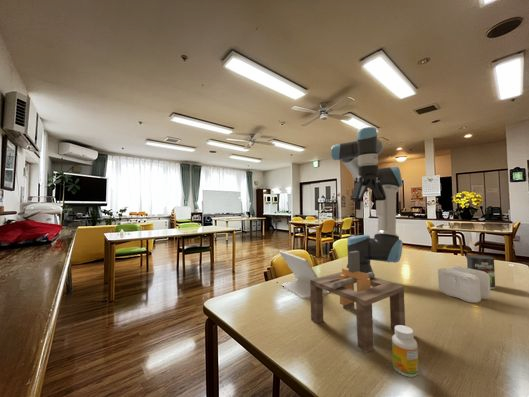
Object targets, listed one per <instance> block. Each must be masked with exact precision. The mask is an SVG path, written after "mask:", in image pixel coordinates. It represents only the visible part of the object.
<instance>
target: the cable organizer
mask: <svg viewBox="0 0 529 397" xmlns="http://www.w3.org/2000/svg"><path fill="white" fill-rule="evenodd" d="M437 274H438V275H437V278H438V280H437V282H438V290H439V291H440V292H441V293H443V294H444V295H446V296H449V297H451V298H453V297H455V298H457V299H461V300H462V301H463V302H467V303H472V304H473V303H479V302H481V300H487V299H489V298H491V297H492V296H491V289H490V276H489V275H488V274H487V273H486V272H483V271H479V270H474V269H469V268H466V267H464V266H459V265H452V266H450V268H447V267H441V268H439V269H438V270H437Z"/></svg>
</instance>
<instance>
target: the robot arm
mask: <svg viewBox="0 0 529 397" xmlns="http://www.w3.org/2000/svg"><path fill="white" fill-rule="evenodd" d="M356 133H357V134H356V140H355V141H349V142H344V143H343V142H342V143H337V144H334V145H332V146H331V149H330V154H331V159H332V160H334V161H341V162H342V164H343V165H344V166H345V167H346V169H347V170H348V172H350V174H351V176H352V179H353V181H354V182H355V183H354V186H353V191H352V194H351V198H350V199H351V201H352V202H354V204H355V216H356V219H364V202H363V198H364V196H365V194H366V192H367V189H370V190H371V191H372V193H373V195H374V197H375V199H376V200H375V214H376V216H377V218H378V219H377V232H376V233H375V234H374V236H373V237H374V238H372V237H371V236H370V235H368V234H360V235H352V236H349V237H348V238H347V243H346V246H347V253H348V252H352V251H359V254H360V272H363V273H369V272H373V273H374V270H373V267H372V264H371V261H375V262H384V263H385V262H386V263H393V264H394V263H398V262H400V260H401V258H402V252H403V241H402V239H400V236H399V235H398V234H397V228H396V227H397V221H396V220H397V193H398V192H399V191H400V188H402V187H403V179H402V174H401V170H400V168H399V166H389V167H387V166H386V167H379V166H378V164H379V159H378V158H379V155H380V154H381V153H382V152H383V149H384V148H383V143H382V141H381V140H380V139H379V138H378V133H377V128H376V127H374V126H373V127H372V126H369V127H362V128H360V129H359V130H357V132H356ZM346 268H348V263H347V264H346Z"/></svg>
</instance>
